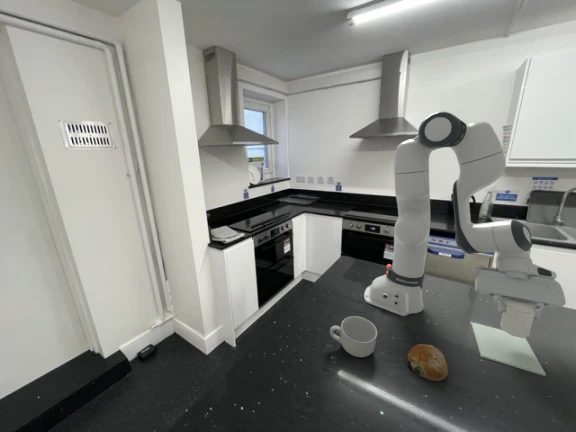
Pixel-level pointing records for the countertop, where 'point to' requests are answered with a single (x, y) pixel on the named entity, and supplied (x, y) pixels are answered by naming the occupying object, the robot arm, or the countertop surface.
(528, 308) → the domed hexagonal post
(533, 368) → the mat
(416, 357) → the bread roll
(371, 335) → the teacup
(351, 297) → the countertop surface
